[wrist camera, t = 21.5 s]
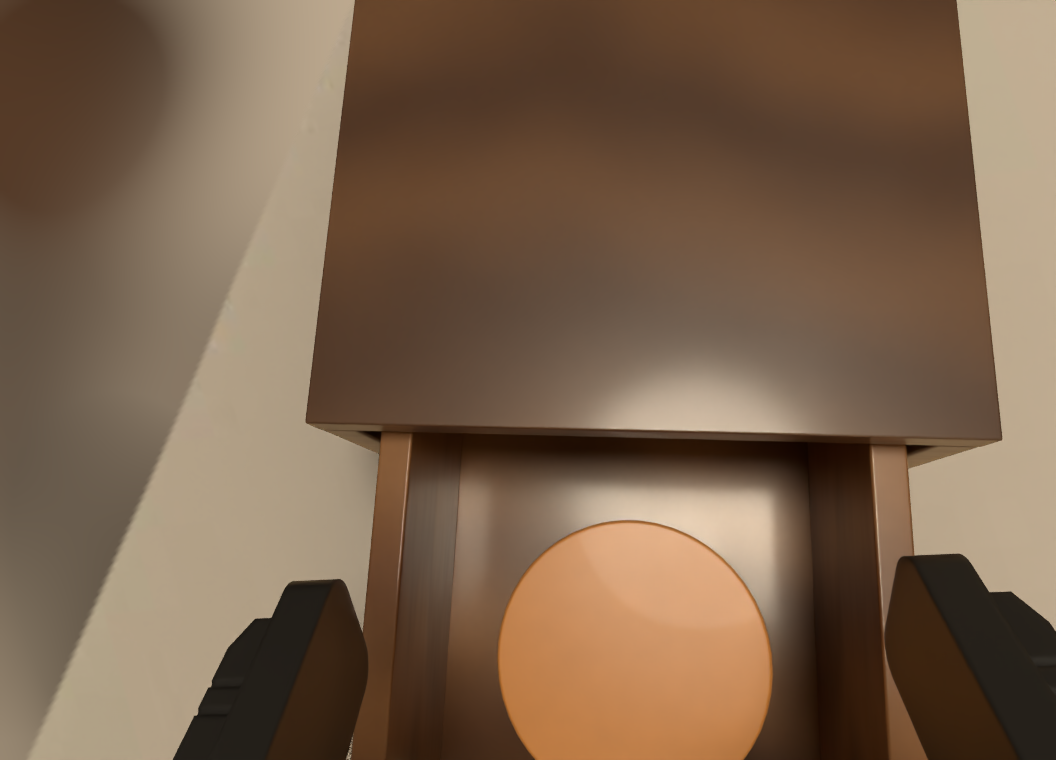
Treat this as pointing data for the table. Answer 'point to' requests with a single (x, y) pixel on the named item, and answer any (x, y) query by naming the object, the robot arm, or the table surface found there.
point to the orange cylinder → (634, 650)
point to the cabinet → (656, 225)
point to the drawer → (645, 495)
